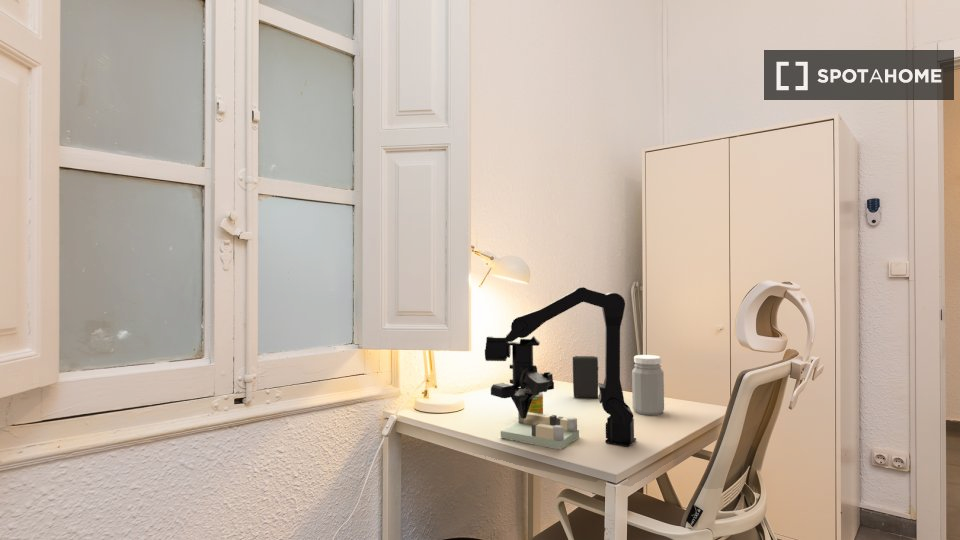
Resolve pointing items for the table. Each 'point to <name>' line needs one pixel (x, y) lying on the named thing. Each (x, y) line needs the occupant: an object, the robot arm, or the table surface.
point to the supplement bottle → (537, 404)
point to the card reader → (585, 376)
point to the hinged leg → (538, 419)
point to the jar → (648, 385)
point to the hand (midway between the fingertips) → (523, 418)
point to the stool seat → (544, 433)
